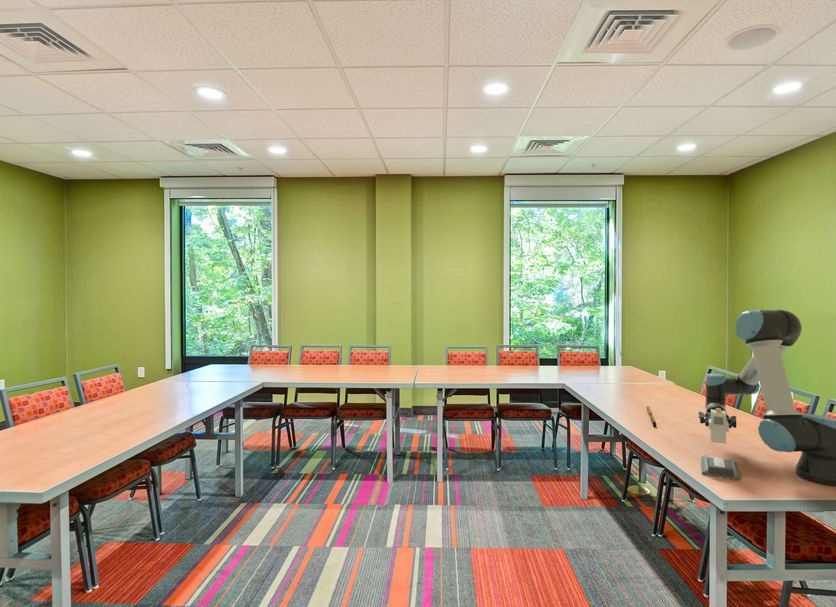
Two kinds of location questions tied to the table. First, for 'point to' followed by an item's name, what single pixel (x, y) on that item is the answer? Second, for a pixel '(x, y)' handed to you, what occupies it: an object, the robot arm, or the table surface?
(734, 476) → the rail board
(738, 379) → the robot arm
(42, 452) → the table surface
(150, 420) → the table surface
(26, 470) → the table surface
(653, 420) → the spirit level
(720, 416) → the din module
